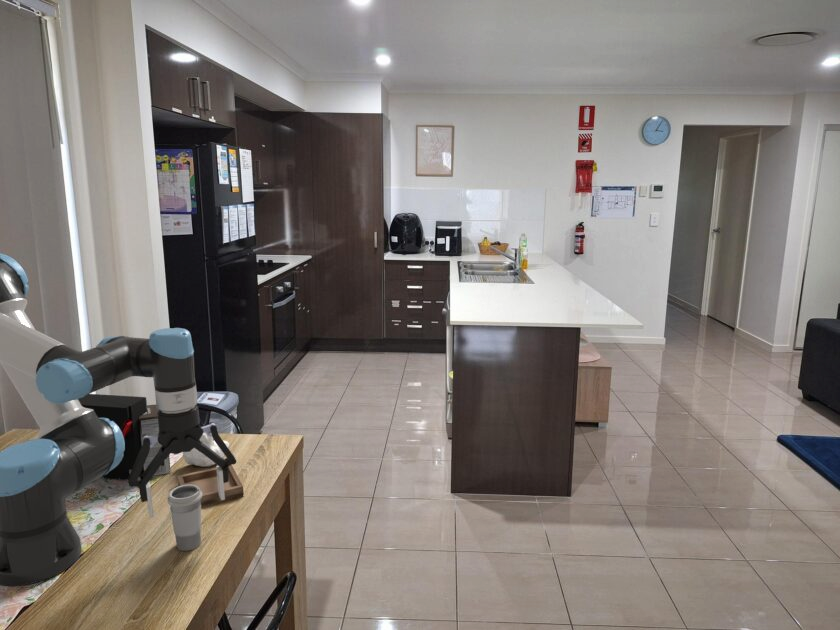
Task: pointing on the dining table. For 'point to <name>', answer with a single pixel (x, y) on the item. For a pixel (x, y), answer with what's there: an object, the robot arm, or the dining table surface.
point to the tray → (213, 485)
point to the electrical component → (120, 425)
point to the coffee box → (152, 429)
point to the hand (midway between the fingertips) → (187, 505)
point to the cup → (186, 515)
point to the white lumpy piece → (200, 458)
